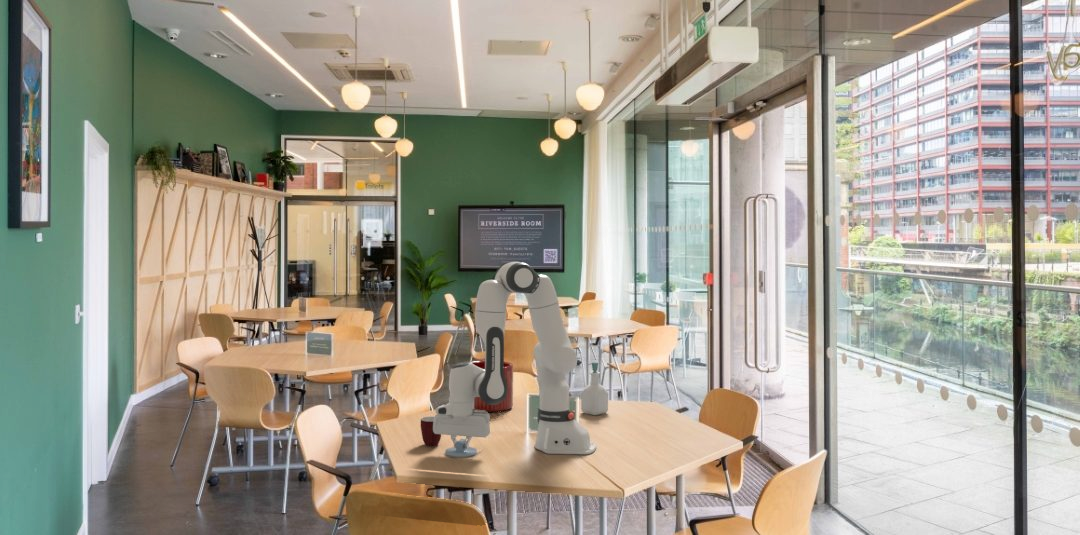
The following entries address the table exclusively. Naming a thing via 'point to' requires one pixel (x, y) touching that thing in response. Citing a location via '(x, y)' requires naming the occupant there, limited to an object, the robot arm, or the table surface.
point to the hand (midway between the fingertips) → (461, 448)
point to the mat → (462, 458)
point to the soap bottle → (594, 395)
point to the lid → (461, 450)
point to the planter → (508, 401)
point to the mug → (429, 432)
